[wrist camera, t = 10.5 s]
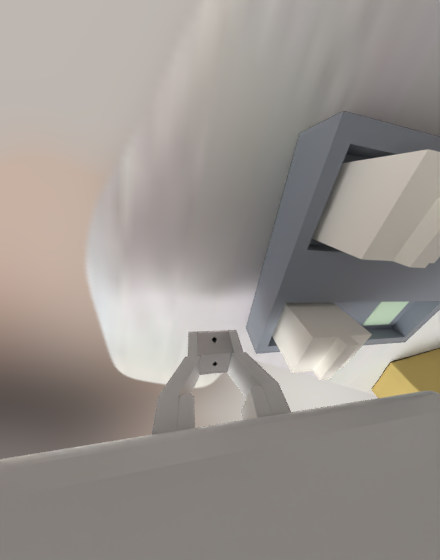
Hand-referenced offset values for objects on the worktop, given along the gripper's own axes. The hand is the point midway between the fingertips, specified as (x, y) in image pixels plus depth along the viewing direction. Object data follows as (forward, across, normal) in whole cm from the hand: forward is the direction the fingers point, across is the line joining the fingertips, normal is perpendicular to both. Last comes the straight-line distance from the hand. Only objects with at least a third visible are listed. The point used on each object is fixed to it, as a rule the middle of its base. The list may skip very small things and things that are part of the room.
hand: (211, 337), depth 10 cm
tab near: (+2, -7, -8) cm, 11 cm away
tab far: (+2, -7, 0) cm, 7 cm away
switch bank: (+3, -12, -4) cm, 13 cm away
